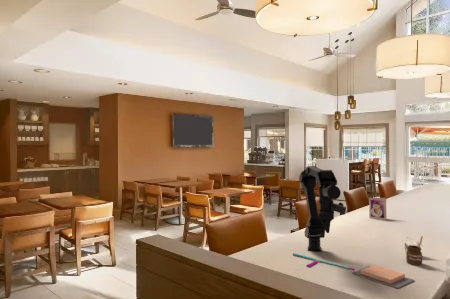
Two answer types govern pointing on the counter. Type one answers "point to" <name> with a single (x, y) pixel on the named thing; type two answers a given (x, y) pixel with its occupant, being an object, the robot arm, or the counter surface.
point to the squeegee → (319, 261)
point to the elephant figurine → (412, 245)
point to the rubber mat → (396, 284)
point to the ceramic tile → (383, 274)
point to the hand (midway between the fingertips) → (327, 232)
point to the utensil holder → (414, 254)
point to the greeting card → (377, 208)
